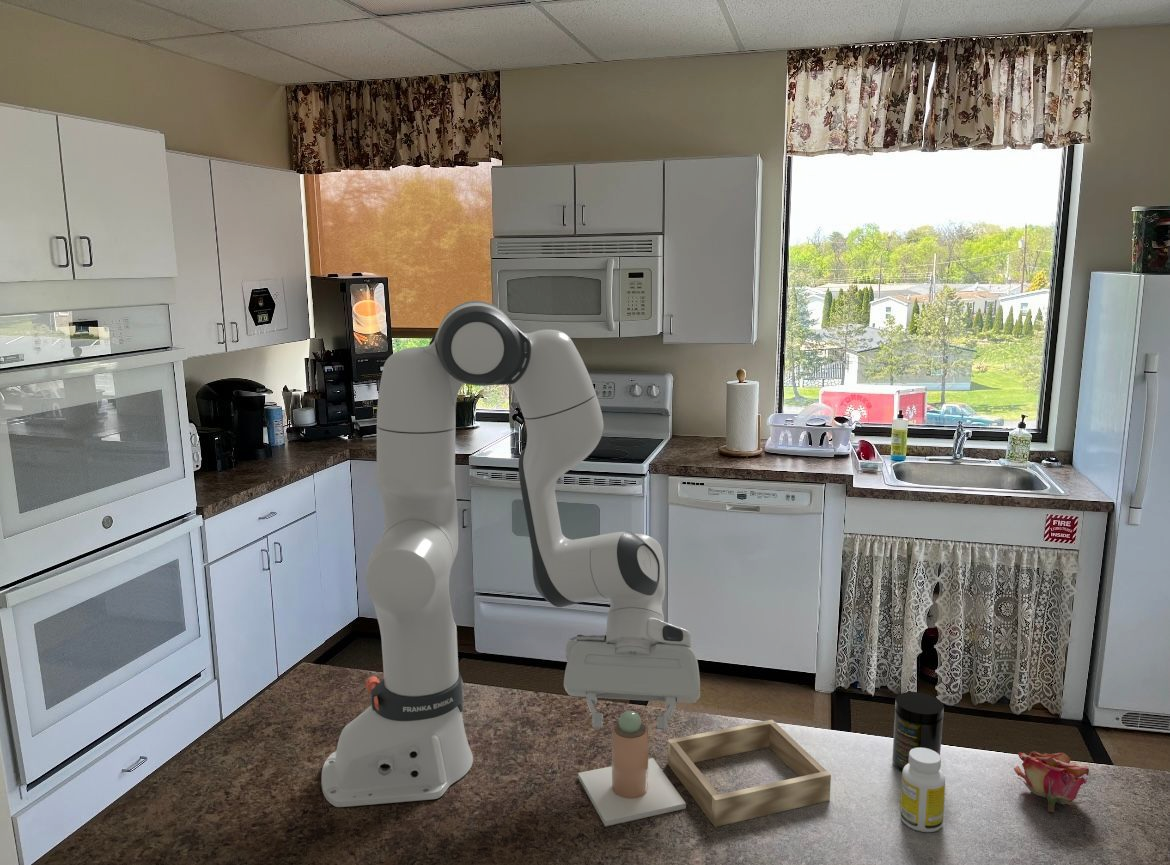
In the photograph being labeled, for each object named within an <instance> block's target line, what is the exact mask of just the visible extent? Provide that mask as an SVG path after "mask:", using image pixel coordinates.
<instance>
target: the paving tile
mask: <svg viewBox="0 0 1170 865" xmlns="http://www.w3.org/2000/svg"><path fill="white" fill-rule="evenodd" d="M577 775H578V776H577V778H578V781H579V782H580V784H581V786H582V787H583V789H584V791H585V793H586V795H587V796H588V798H589V800H590V801H591V804H592V805H593V807H594V809H595V811H596V813H597V815H598V816H599V818H600V820H601V822H602V823H603V825H604V827H610V826H613V825H619V824H622V823H627V822H632V821H636V820H640V819H644V818H648V817H653V816H658V815H663V814H667V813H672V812H675V811H680V810H685V809H687V802H686V801H685V800H684V799H683V797H682V796H681V795H680V793H679V792H678V790H677V789H676V788H675V786H674V785H673V783H672V782H671V781H670V780H669V778H668V776H667V775H666V774H665V773H664V771H663V770H662V768H661V767H660V765H659V764H658V762H656V760H655V759H654V758H653V757H650V758H648V791H647V793H646V794H644V795H643V796H641V797H638V798H624V797H620V796H618V795H617V794H615V793H614V791H613V790H612V765H611V766H610V765H609V766H606V767H599V768H597V769H596V768H595V769H591V770H587V771H586V770H585V771H582V772H581V771H579V772H578V773H577Z"/></svg>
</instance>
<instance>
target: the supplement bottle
mask: <svg viewBox="0 0 1170 865" xmlns="http://www.w3.org/2000/svg"><path fill="white" fill-rule="evenodd" d="M941 763H942V758H941V754H940V755H939V754H938V753H937V752H935V751H933V750H931V749H927V748H914V749H911V750H910V752H909V763H908V764H907V765H905V767H904V768H903V772H902V774H901V776H902V777H901V793H900V795H901V796H900V811H899V812H900V813H899V814H900V819H901V821H902V823H904V824H905V825H906V826H907V827H909V828H910V829H912V830H914V831H918V832H923V833H933V832H937V831H939V830H940V829H941V828H942V826H943V822H944V810H945V808H944V807H945V795H946V794H945V793H946V792H945V791H946V777H945V774H944V772H943V771H942V769H941V766H942V764H941Z"/></svg>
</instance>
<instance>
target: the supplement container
mask: <svg viewBox="0 0 1170 865" xmlns="http://www.w3.org/2000/svg"><path fill="white" fill-rule="evenodd" d="M894 703H895V704H894V705H895V706H894V723H893V741H892V742H893V744H892V763H893V764H894V766H895V767H896V768H897V770H899V771H900V772H902V773H903V768H904V767H905V765H907V764H908V763H909V752H910V750H911V749H914V748H927V749H931V750H933V751H935V752H937V753H938V754H939V755H940V756H941V751H942V750H941V748H942V733H943V720H944V709H945V706H944V703H943V702H942V701H941V700H940V699H938V698H937V697H935V696H933V695H930V694H927V693H924V692H923V693H922V692H919V691H918V692H917V691H907V692H906V691H905V692H902V693H899V694H898V695H896V697H895V702H894Z"/></svg>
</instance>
